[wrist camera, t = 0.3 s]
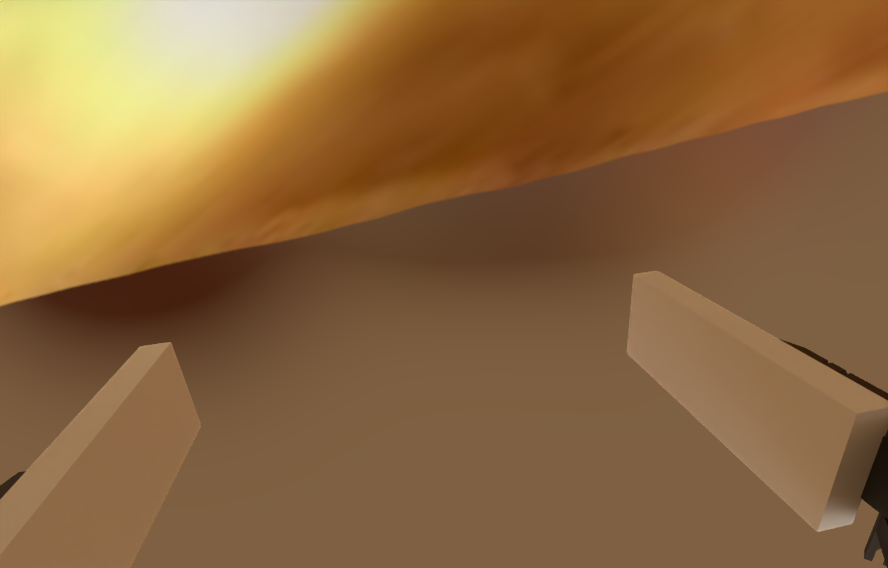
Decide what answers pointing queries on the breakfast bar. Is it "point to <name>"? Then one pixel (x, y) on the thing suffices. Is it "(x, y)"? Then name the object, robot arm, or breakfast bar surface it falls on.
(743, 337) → the robot arm
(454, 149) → the breakfast bar surface
